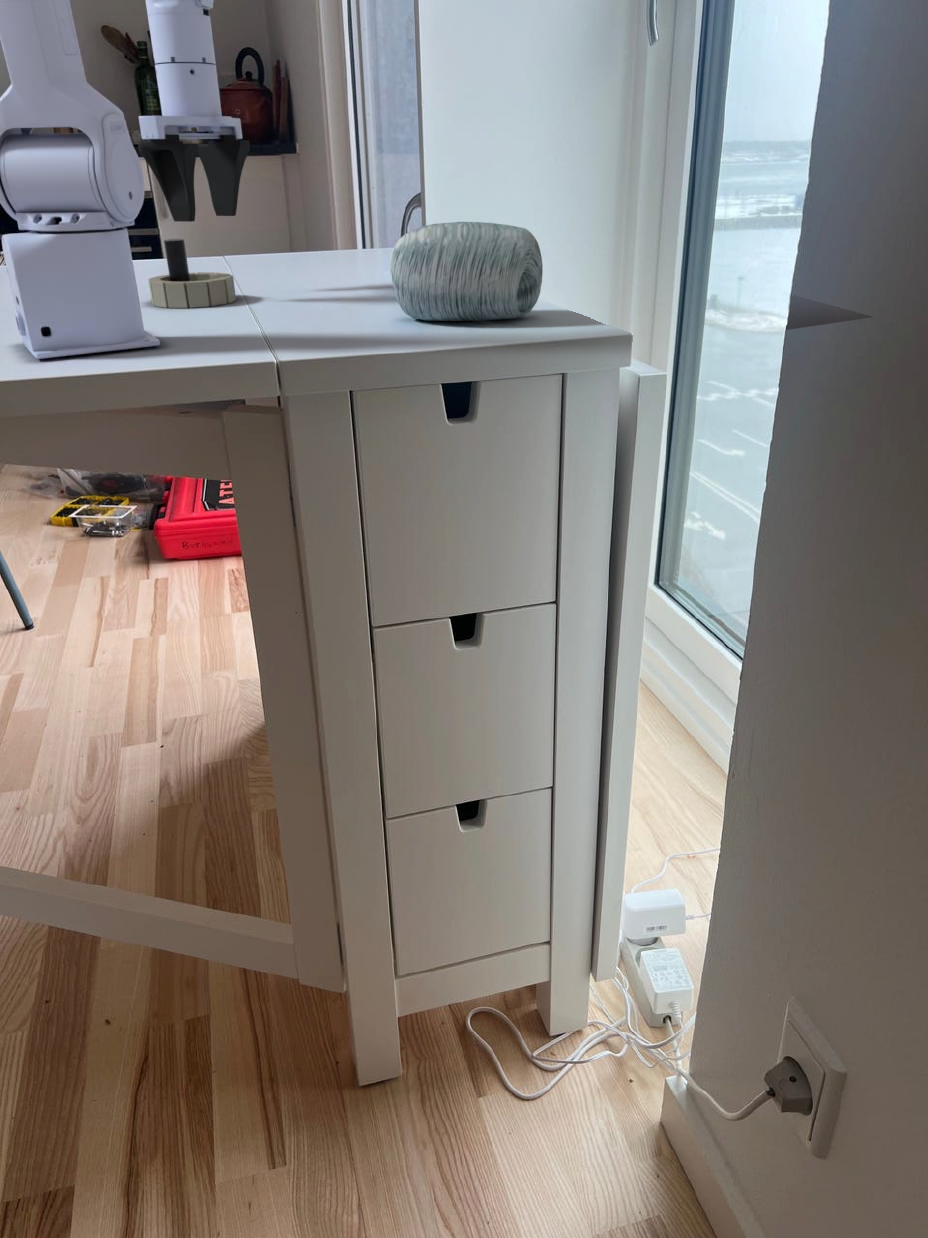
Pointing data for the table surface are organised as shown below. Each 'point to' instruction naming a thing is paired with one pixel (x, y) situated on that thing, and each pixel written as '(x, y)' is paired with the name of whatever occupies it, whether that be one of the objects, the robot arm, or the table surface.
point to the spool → (466, 271)
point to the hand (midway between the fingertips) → (206, 218)
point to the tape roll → (192, 290)
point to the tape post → (177, 260)
